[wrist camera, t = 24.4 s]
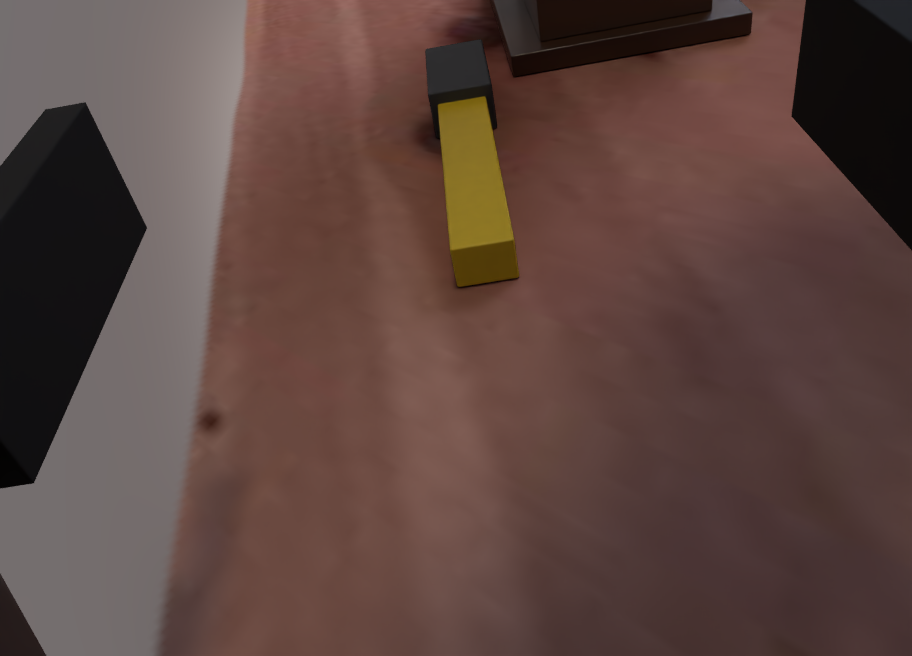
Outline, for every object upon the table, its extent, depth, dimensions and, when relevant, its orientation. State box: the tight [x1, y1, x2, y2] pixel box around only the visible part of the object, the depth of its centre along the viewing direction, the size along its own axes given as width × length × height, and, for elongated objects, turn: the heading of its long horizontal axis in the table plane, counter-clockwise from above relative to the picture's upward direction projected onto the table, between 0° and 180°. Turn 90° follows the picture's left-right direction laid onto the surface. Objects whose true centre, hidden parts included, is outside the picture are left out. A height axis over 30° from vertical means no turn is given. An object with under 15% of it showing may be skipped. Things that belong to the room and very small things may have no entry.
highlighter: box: [425, 40, 519, 287], centre depth 30 cm, size 16×3×2 cm, turn 3°
